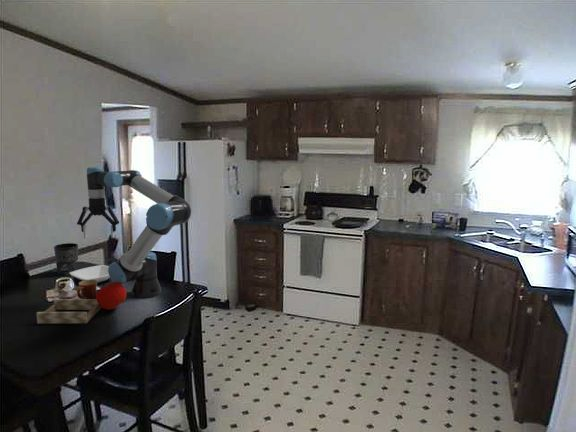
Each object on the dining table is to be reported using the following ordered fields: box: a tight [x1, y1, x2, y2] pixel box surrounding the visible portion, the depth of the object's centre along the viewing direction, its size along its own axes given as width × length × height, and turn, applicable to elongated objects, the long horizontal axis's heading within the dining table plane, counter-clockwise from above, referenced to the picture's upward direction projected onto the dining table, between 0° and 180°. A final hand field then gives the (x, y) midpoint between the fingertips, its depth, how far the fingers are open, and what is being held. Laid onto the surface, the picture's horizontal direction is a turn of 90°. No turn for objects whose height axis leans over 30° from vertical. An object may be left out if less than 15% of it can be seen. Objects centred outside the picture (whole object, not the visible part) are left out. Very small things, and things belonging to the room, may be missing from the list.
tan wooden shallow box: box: [35, 298, 102, 324], centre depth 189 cm, size 21×16×5 cm
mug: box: [76, 280, 99, 299], centre depth 205 cm, size 12×9×10 cm
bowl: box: [68, 264, 111, 284], centre depth 237 cm, size 22×23×6 cm
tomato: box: [96, 281, 127, 311], centre depth 197 cm, size 13×14×12 cm
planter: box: [53, 242, 79, 277], centre depth 248 cm, size 13×13×18 cm
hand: (99, 237), depth 210 cm, fingers open, 13 cm apart
